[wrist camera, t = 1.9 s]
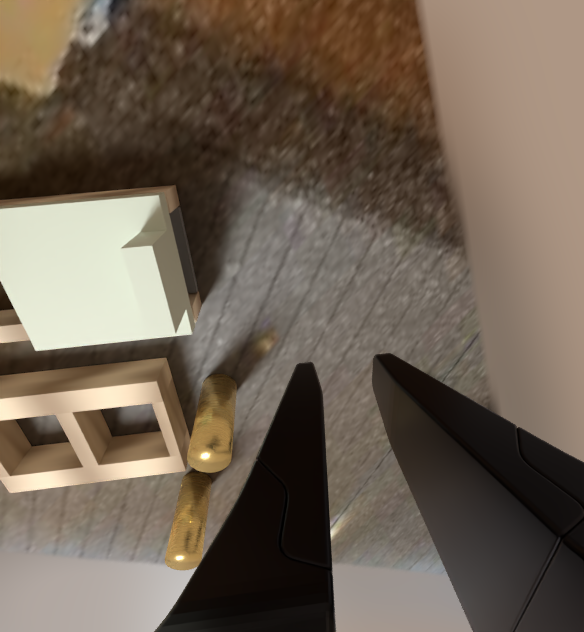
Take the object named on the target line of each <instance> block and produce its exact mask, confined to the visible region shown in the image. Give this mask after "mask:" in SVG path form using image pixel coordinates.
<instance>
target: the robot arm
mask: <svg viewBox="0 0 584 632" xmlns="http://www.w3.org/2000/svg"><path fill="white" fill-rule="evenodd" d="M372 385H373V390H374V394H375V397H376V400H377V403H378V407H379V410H380V413H381V416H382V419H383V423H384V426H385V429H386V432H387V436H388V439H389V442H390V444H391V447H392V449H393V452H394V454H395V456H396V458H397V461H398V463H399V465H400V467H401V470H402V472H403V474H404V477H405V479H406V481H407V483H408V486H409V488H410V490H411V492H412V495H413V497H414V499H415V501H416V504H417V506H418V508H419V510H420V513H421V515H422V517H423V520H424V522H425V524H426V526H427V529H428V531H429V533H430V535H431V538H432V540H433V542H434V544H435V547H436V549H437V551H438V553H439V556H440V558H441V560H442V563H443V565H444V567H445V569H446V572H447V574H448V576H449V578H450V581H451V583H452V585H453V587H454V590H455V592H456V594H457V596H458V599H459V601H460V603H461V606H462V608H463V610H464V612H465V614H466V617H467V619H468V621H469V623H470V626H471V628H472V630H473V632H584V462H582V461H580V460H578V459H576V458H574V457H573V456H571V455H569V454H567V453H565V452H563V451H561V450H559V449H558V448H556V447H554V446H552V445H550V444H549V443H547V442H545V441H543V440H541V439H539V438H537V437H536V436H534V435H532V434H531V433H529V432H527V431H525V430H524V429H522V428H520V427H518V428H517V427H516V425H515V424H513V423H511V422H510V421H508V420H506V419H504V418H503V417H501V416H499V415H497V414H496V413H494V412H492V411H490V410H489V409H487V408H485V407H483V406H482V405H480V404H478V403H476V402H475V401H473V400H471V399H470V398H468V397H466V396H464V395H463V394H461V393H459V392H457V391H456V390H454V389H452V388H450V387H449V386H447V385H445V384H443V383H442V382H440V381H438V380H436V379H435V378H433V377H431V376H429V375H428V374H426V373H424V372H422V371H421V370H419V369H417V368H416V367H414V366H412V365H410V364H409V363H407V362H405V361H403V360H402V359H400V358H398V357H396V356H395V355H393V354H391V353H386V354H377V355H375V356H374V358H373V372H372ZM154 632H336V624H335V608H334V591H333V575H332V554H331V536H330V517H329V499H328V481H327V462H326V444H325V425H324V407H323V394H322V389H321V385H320V382H319V379H318V376H317V373H316V370H315V366H314V364H313V363H312V362H306V363H299V364H297V365H296V367H295V369H294V372H293V374H292V376H291V379H290V381H289V383H288V386H287V388H286V390H285V393H284V395H283V397H282V399H281V402H280V404H279V406H278V409H277V411H276V413H275V416H274V418H273V420H272V423H271V425H270V427H269V429H268V432H267V434H266V436H265V439H264V441H263V443H262V446H261V448H260V450H259V453H258V455H257V457H256V461H255V462H254V464H253V466H252V468H251V471H250V473H249V475H248V477H247V479H246V482H245V484H244V486H243V488H242V490H241V492H240V494H239V496H238V498H237V500H236V502H235V504H234V505H233V507H232V509H231V511H230V513H229V514H228V516H227V518H226V520H225V522H224V523H223V525H222V527H221V528H220V530H219V532H218V533H217V535H216V537H215V538H214V540H213V542H212V543H211V545H210V547H209V549H208V550H207V552H206V554H205V555H204V557H203V559H202V560H201V562H200V564H199V565H198V567H197V569H196V570H195V572H194V574H193V575H192V577H191V579H190V581H189V582H188V584H187V586H186V587H185V589H184V591H183V592H182V594H181V595H180V597H179V599H178V600H177V602H176V604H175V605H174V606H173V608H172V609H171V611H170V612H169V614H168V615H167V616H166V618H165V619H164V620H163V621H162V623H161V624H160V625H159V627H158V628H157V629H156V630H155V631H154Z"/></svg>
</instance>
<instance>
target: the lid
mask: <svg viewBox="0 0 584 632" xmlns="http://www.w3.org/2000/svg"><path fill="white" fill-rule="evenodd" d="M0 281H1V283H2V285H3V287H4V289H5V291H6V293H7V295H8V297H9V299H10V301H11V303H12V305H13V307H14V309H15V311H16V313H17V315H18V317H19V319H20V321H21V323H22V325H23V327H24V329H25V330H26V332H27V334H28V336H29V338H30V340H31V342H32V344H33V346H34V348H35V350H36V351H41V350H50V349H59V348H69V347H78V346H88V345H97V344H106V343H116V342H125V341H134V340H144V339H153V338H162V337H172V336H181V335H190V334H193V331H194V327H195V322H194V317H193V313H192V309H191V305H190V300H189V296H188V292H187V288H186V283H185V279H184V275H183V271H182V266H181V262H180V258H179V253H178V249H177V245H176V241H175V236H174V232H173V228H172V224H171V219H170V215H169V211H168V207H167V202H166V198H165V194H164V192H157V193H146V194H134V195H123V196H111V197H100V198H88V199H77V200H65V201H54V202H42V203H31V204H19V205H8V206H0Z"/></svg>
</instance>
